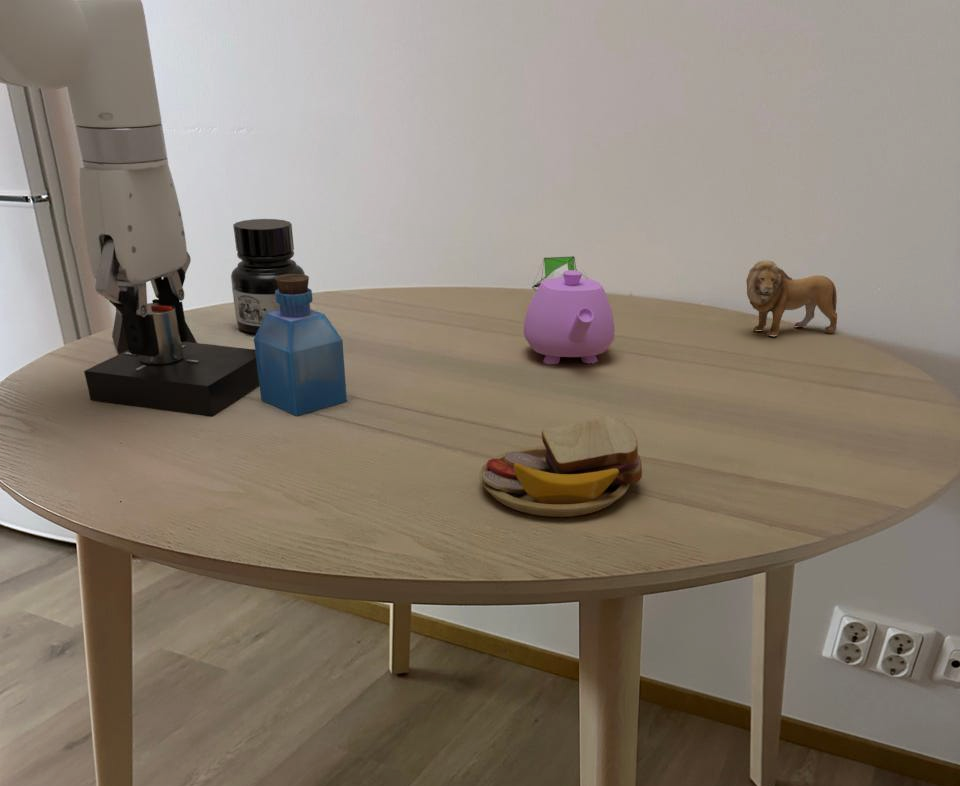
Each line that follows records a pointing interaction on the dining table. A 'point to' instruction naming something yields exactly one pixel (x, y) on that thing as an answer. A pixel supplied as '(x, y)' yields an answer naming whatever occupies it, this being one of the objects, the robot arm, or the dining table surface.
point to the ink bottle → (260, 268)
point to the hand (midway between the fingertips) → (159, 345)
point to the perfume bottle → (299, 352)
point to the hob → (177, 379)
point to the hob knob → (165, 334)
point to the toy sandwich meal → (567, 470)
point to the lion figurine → (789, 295)
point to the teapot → (569, 319)
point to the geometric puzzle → (556, 267)
